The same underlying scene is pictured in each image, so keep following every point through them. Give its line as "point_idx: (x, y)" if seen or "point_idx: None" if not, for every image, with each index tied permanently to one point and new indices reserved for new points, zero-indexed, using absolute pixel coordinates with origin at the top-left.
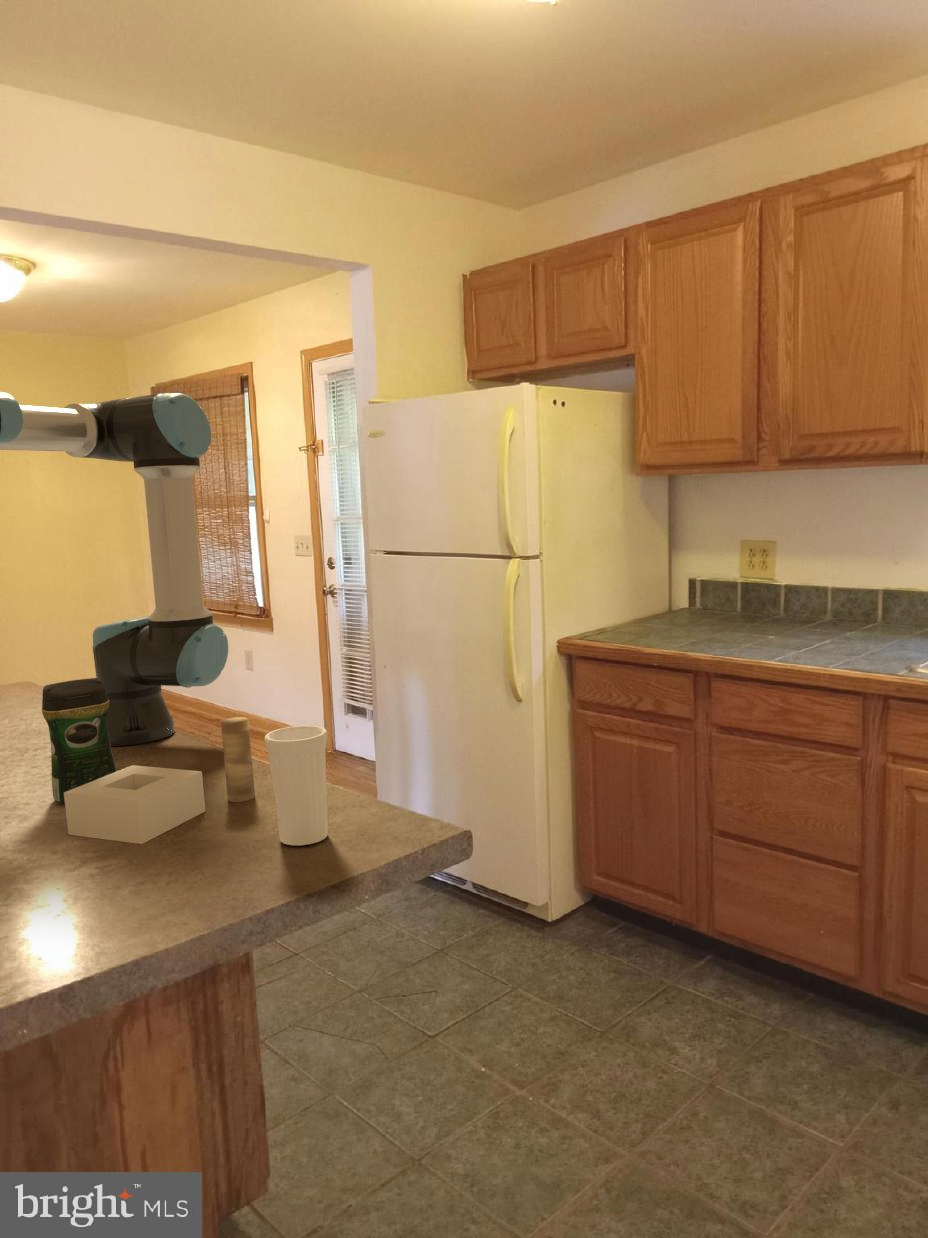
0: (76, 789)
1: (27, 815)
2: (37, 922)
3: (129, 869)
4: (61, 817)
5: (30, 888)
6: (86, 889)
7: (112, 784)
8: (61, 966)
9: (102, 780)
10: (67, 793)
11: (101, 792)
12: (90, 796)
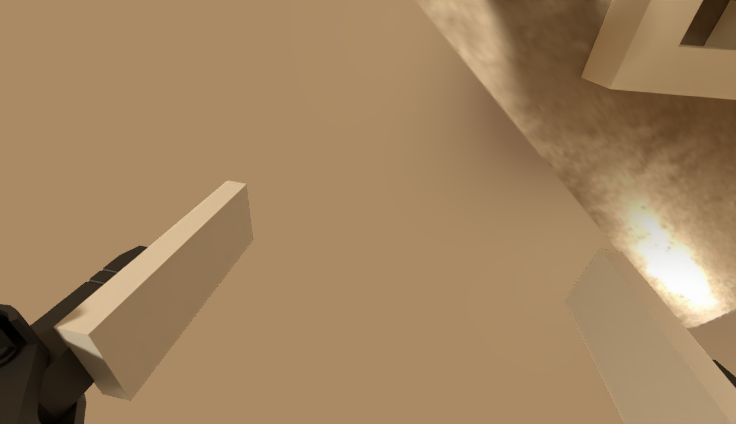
0: (628, 70)
1: (462, 17)
2: (652, 258)
3: (720, 159)
4: (528, 12)
5: (610, 210)
6: (678, 206)
7: (690, 19)
8: (705, 302)
9: (664, 10)
10: (618, 89)
11: (687, 76)
12: (669, 93)
